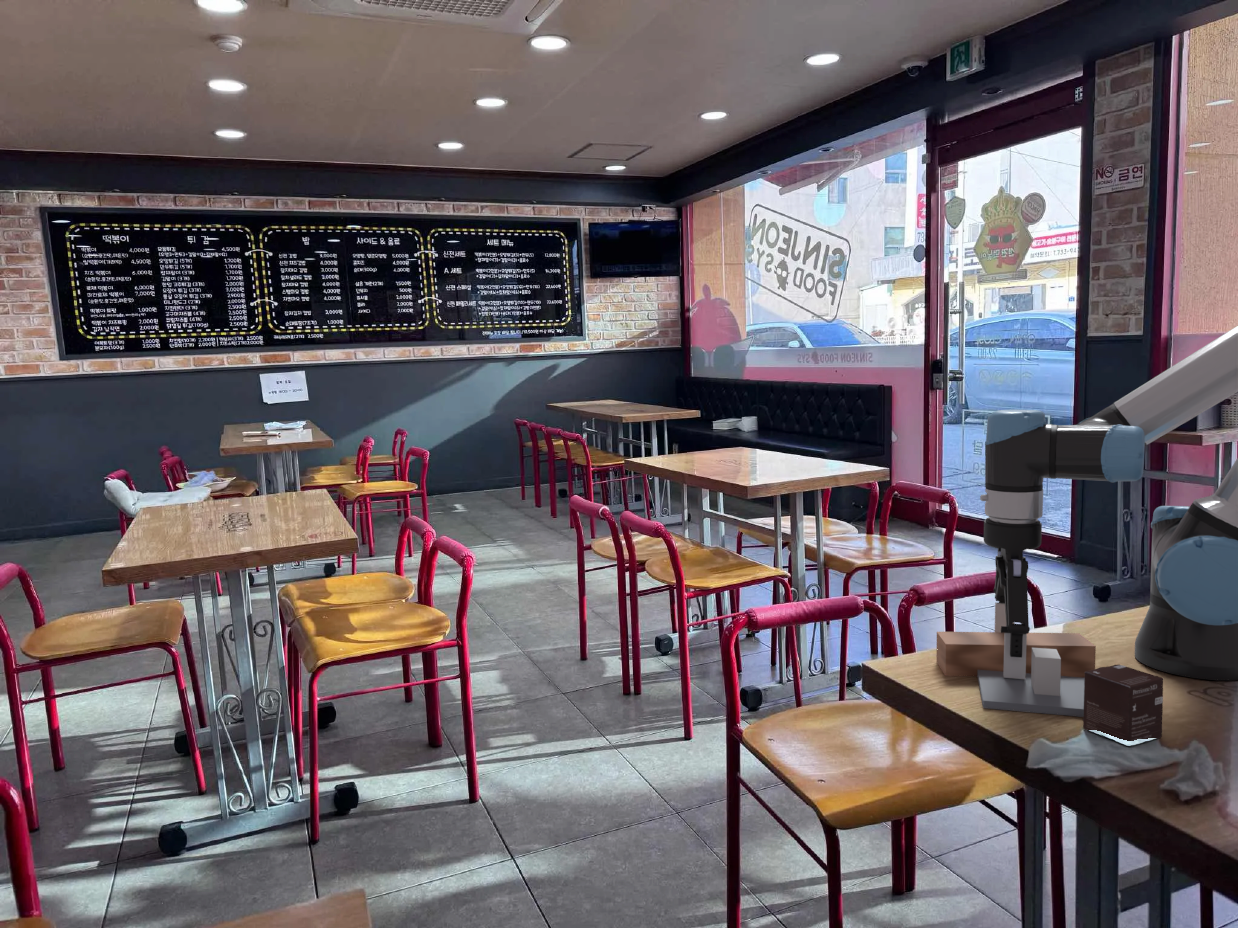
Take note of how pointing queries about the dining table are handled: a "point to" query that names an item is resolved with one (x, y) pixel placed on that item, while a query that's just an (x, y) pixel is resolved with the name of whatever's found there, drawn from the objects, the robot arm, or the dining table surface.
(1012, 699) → the fulcrum
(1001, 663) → the cherry bar
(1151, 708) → the box
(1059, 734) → the dining table surface
